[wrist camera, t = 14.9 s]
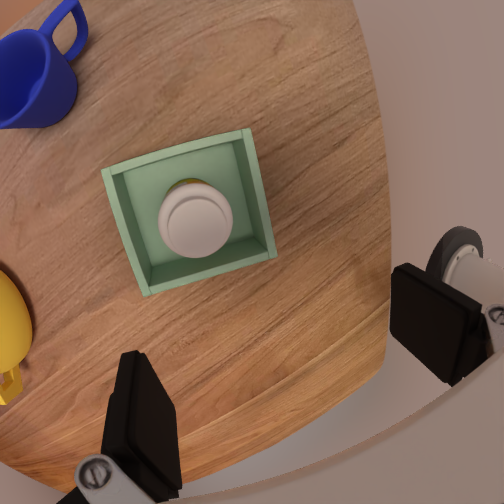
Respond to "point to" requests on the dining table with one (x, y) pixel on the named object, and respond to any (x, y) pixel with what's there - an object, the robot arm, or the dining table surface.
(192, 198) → the supplement bottle
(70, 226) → the dining table surface
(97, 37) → the dining table surface
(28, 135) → the dining table surface
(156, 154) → the bin
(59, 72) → the mug
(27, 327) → the teapot
